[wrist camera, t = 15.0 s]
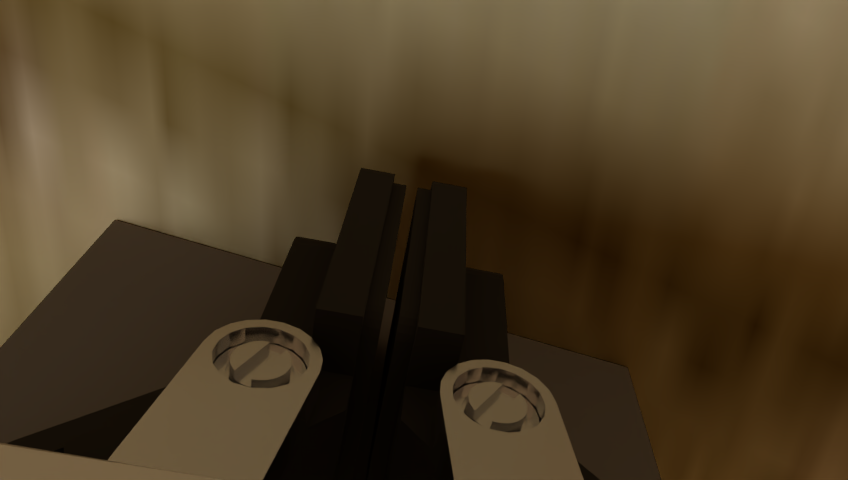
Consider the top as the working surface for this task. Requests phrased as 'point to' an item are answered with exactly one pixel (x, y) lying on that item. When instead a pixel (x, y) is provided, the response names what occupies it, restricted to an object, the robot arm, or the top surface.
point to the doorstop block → (233, 302)
